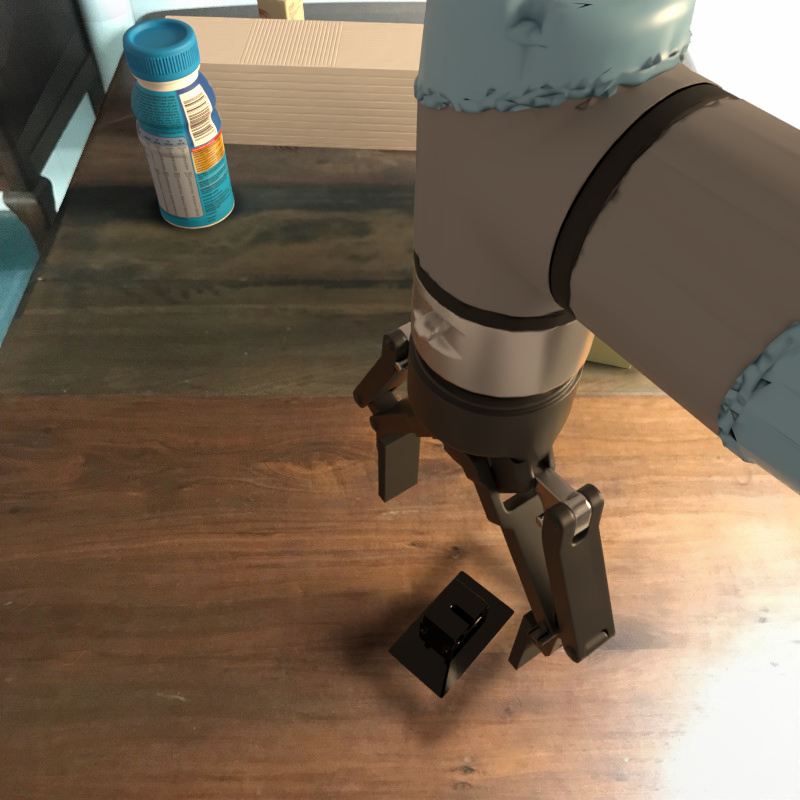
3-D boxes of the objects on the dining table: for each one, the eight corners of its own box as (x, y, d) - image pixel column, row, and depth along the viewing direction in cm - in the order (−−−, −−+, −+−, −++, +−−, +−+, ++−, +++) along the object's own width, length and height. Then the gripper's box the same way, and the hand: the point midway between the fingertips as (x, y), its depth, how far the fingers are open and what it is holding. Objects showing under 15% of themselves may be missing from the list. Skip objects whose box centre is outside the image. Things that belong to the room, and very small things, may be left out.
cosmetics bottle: (280, 52, 111) (272, -23, 103) (309, 58, 110) (303, -17, 102) (264, 70, 108) (254, -6, 100) (293, 76, 107) (286, 0, 99)
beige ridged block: (429, 106, 102) (432, 24, 94) (427, 155, 96) (430, 70, 87) (184, 98, 103) (165, 15, 95) (164, 145, 96) (143, 60, 88)
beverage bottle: (160, 238, 86) (110, 60, 70) (159, 191, 91) (111, 16, 75) (239, 228, 87) (206, 52, 71) (233, 182, 92) (201, 8, 76)
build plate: (433, 733, 54) (436, 712, 50) (356, 663, 57) (353, 638, 53) (539, 605, 60) (549, 577, 56) (464, 547, 63) (468, 517, 59)
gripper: (274, 211, 38) (307, 457, 55) (651, 619, 26) (545, 777, 42) (401, 160, 41) (395, 409, 58) (797, 506, 28) (644, 696, 45)
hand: (459, 565), depth 50 cm, fingers open, 13 cm apart
